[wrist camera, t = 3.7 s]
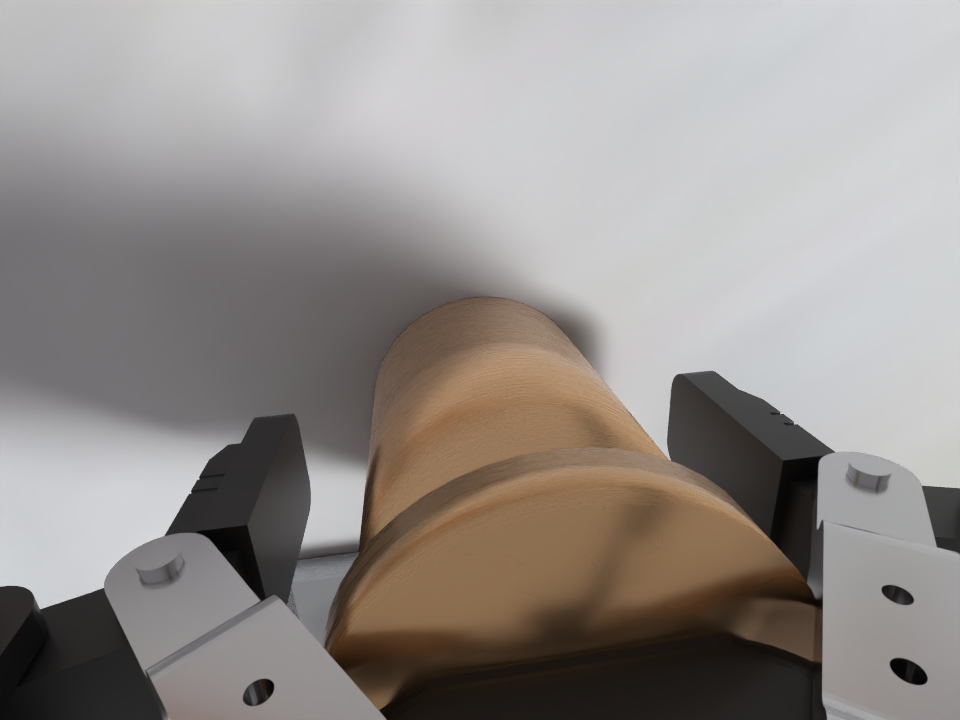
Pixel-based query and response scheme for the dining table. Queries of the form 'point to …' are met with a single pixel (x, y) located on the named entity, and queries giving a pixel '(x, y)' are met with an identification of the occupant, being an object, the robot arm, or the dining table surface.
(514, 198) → the dining table surface
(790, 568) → the round knob
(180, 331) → the dining table surface
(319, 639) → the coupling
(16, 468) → the dining table surface
